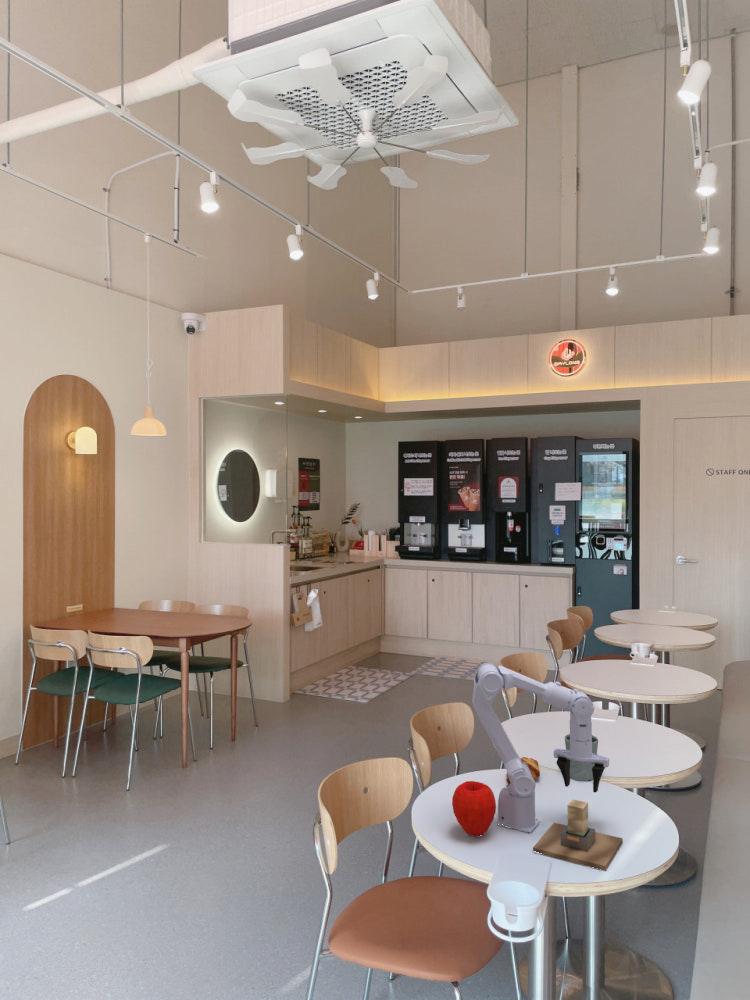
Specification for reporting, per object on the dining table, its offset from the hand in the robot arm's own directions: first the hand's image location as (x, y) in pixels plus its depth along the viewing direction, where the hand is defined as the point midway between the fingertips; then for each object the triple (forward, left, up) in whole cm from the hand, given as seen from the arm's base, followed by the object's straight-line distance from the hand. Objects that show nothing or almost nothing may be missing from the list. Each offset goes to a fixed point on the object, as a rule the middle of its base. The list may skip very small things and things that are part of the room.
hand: (581, 788), depth 202 cm
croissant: (-25, +22, -10) cm, 35 cm away
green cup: (-10, +33, -10) cm, 36 cm away
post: (+3, -13, -6) cm, 15 cm away
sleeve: (+3, -13, -9) cm, 16 cm away
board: (+3, -13, -10) cm, 17 cm away
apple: (-23, -19, -10) cm, 31 cm away
